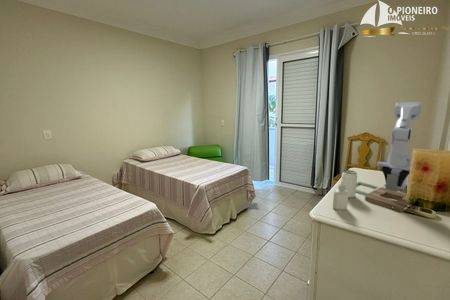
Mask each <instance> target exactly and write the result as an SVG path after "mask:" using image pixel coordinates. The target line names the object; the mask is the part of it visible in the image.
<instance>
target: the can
mask: <svg viewBox="0 0 450 300" xmlns="http://www.w3.org/2000/svg"><path fill="white" fill-rule="evenodd" d="M341 182H343V184H344V185H345V190H346V191H348V199H349V198H355V196H356V193H357V192H356V189H357V185H356V183H357V182H358V175H357V171H354V170H352V169H351V170H350V169H344V170H343V171H342V173H341V179H340V183H341Z"/></svg>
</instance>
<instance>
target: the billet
mask: <svg viewBox="0 0 450 300" xmlns="http://www.w3.org/2000/svg"><path fill="white" fill-rule="evenodd" d="M398 183H399V173H395V172H391V173H389V174H387V180H386V181H385V184H386V186H384V188H385V189H388V190H392V191H399V190H401V189H400V188H401V187H398Z"/></svg>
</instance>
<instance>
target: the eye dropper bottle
mask: <svg viewBox="0 0 450 300" xmlns="http://www.w3.org/2000/svg"><path fill="white" fill-rule="evenodd" d="M332 198H333V200H332V201H333V202H332V208H333V209H335V210H337V211H345V210H347V209H348V203H349V198H348V191H346V190H345V185H344V184H343V182H341V181H340V183H339V184H338V188H337V189H335V190H334V192H333V197H332Z"/></svg>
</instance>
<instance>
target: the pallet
mask: <svg viewBox="0 0 450 300" xmlns="http://www.w3.org/2000/svg"><path fill="white" fill-rule="evenodd" d="M406 194H407V193H405V192H402V191H399V190H398V191H392V190H388V189H385V187H384V186H383V187H381V188H380V189H378V190H376V191H374V192H372V193H370V194H368V195H365V197H364V200H365V201H366V202H370V203H372V204H376V205H380V206H382V207H385V208H387V209H392V210H394V211H398V212H401V213H404V212H405V211H404V208H405V207H406V206H407V205H409V204H410V202H407V201H406ZM388 197H389V198H388ZM390 198H391V199H390ZM394 199H395V200H394ZM392 207H393V208H392Z"/></svg>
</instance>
